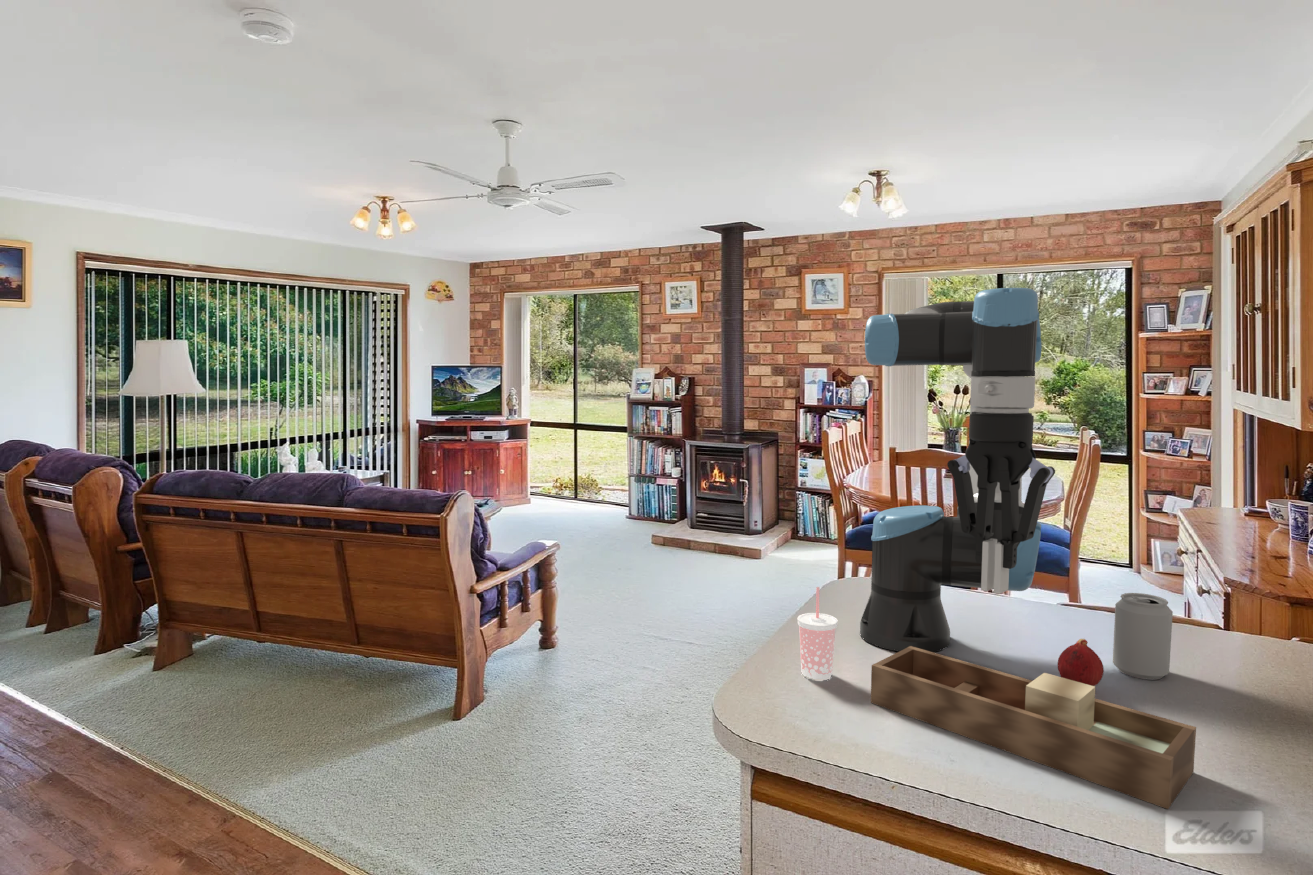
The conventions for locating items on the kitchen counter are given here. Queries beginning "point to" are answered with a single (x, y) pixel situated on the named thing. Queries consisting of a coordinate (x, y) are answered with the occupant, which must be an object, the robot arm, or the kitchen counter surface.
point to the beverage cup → (817, 642)
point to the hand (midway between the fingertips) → (994, 589)
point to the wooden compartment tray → (1039, 725)
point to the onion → (1080, 664)
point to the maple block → (1061, 700)
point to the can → (1142, 636)
